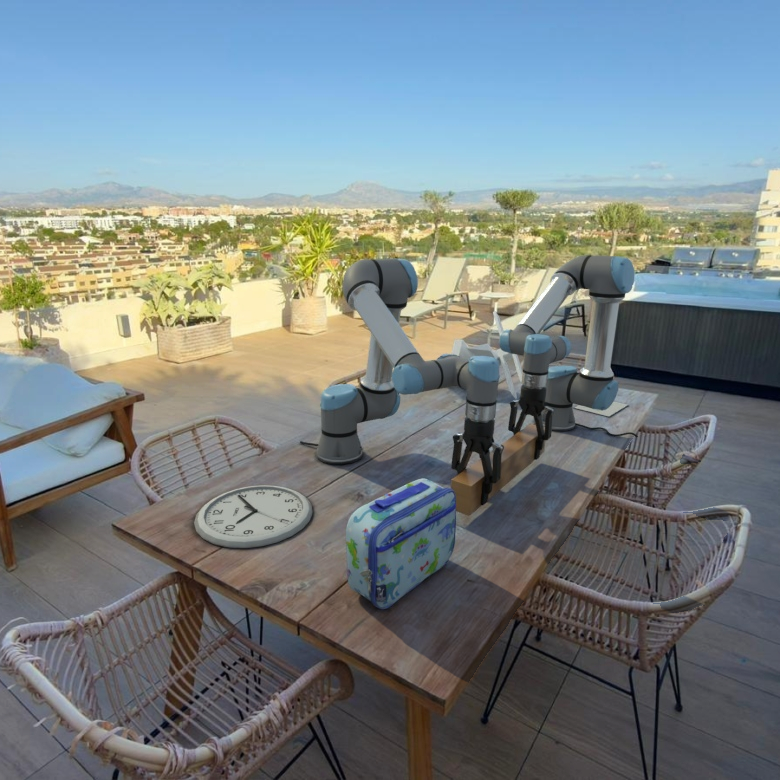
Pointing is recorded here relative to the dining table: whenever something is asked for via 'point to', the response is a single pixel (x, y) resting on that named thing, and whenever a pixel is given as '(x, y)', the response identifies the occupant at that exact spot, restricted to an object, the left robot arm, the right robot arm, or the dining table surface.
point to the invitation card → (608, 412)
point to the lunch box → (400, 540)
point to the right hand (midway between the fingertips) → (526, 455)
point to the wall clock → (253, 516)
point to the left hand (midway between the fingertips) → (473, 498)
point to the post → (512, 463)
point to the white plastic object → (490, 355)
